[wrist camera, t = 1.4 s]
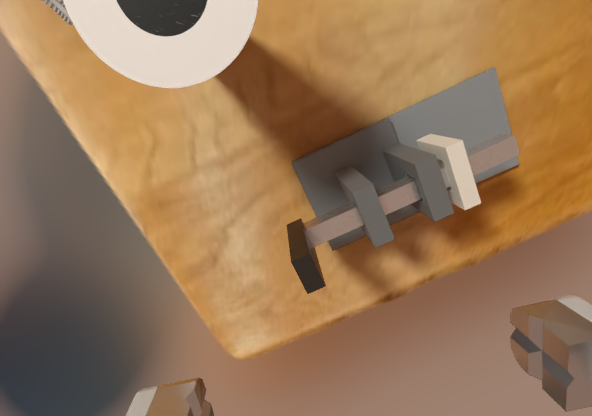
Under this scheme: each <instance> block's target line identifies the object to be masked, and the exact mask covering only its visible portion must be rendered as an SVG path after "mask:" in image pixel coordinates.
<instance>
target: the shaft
mask: <svg viewBox="0 0 592 416" xmlns="http://www.w3.org/2000/svg"><path fill="white" fill-rule="evenodd" d="M466 153H467V157H468V160H469V163H470V167H471V170H472V173H473V176H474V175H476V174H478V173H480V172H483V171H485V170H487V169H489V168H492V167H494V166H496V165H498V164H500V163H503V162H505V161H507V160H509V159H512V158H514V157H516V156H518V155H520V153H519V149H518V145H517V141H516V137H515V135H510V134H503V133H501V134H499V135H497V136H494V137H492V138H490V139H488V140H486V141H483V142H481V143H479V144H477V145H475V146H472V147H470V148H468V149H466ZM438 164H439V167H440V170H441V173H442V176H443V179H444V182H445V185H446V188H447V187H449V186H450V183H449V180H448V177H447V173H446V170H445V167H444V164H443V161H439V162H438ZM376 193H377V195H378V198H379V200H380V203H381V205H382V208H383V210H384V213H385V215H387V214H389V213H391V212H394V211H396V210H398V209H400V208H402V207H405V206H407V205H409V204H411V203H414V202H416V201H418V200H420V199H422V197H421V194H420V191H419V188H418V185H417V183H416V180H415V178H413V177H411V176H406V177H404V178H402V179H400V180H398V181H395V182H393V183H391V184H389V185H387V186H384V187H382V188H380V189H378V190H376ZM362 225H364V223H363V220H362V218H361V216H360V213H359V211H358V209H357V206H356V205H355V203H354V202H353V201H352V202H349V203H347V204H345V205H343V206H341V207H338V208H336V209H334V210H332V211H330V212H327V213H325V214H323V215H321V216H319V217H316V218H314V219H312V220H310V221H308V222H305V223H303V222H302V219H299V220H296V221H294V222H292V223H290V224H288V225H287V231H288V240H289V248H290V256H291V263H292V264H293V266H294V268H295V270H296V272H297V274H298V276H299V278H300V280H301V282H302V284H303V286H304V288H305V290H306V292H307V294H309V293H311V292H314V291H316V290H318V289H320V288H323V287H325V286H326V285H325V282H324V278H323V275H322V272H321V268H320V265H319V261H318V258H317V254H316V251H315V248H314V247H316V246H318V245H320V244H322V243H325V242H327V241H329V240H331V239H333V238H336V237H338V236H340V235H342V234H345V233H347V232H349V231H351V230H353V229H356V228H358V227H360V226H362Z"/></svg>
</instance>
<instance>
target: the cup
mask: <svg viewBox="0 0 592 416" xmlns="http://www.w3.org/2000/svg"><path fill="white" fill-rule="evenodd" d="M63 2H64V5H65V7H66V10H67V12H68V14H69V17H70V19H71V21H72V23H73V24H74V26H75V28H76V30H77V31H78V33H79V34H80V36H81V37H82V39H83V40H84V41H85V43H86V44H87V45H88V46H89V48H90V49H91V50H92V51H93V52H94V53H95V54H96V55H97V56H98V57H99V58H100V59H101V60H102V61H104V62H105V63H106V64H107V65H109V66H110V67H111V68H113V69H114V70H115V71H117V72H119V73H120V74H122V75H124V76H126V77H128V78H130V79H132V80H134V81H137V82H139V83H142V84H146V85H150V86H154V87H160V88H182V87H188V86H192V85H196V84H199V83H202V82H204V81H207V80H209V79H211V78H212V77H214V76H216V75H217V74H219V73H220V72H222V71H223V70H224V69H225V68H226V67H228V66H229V65H230V64H231V63H232V62H233V61H234V59H235V58H236V57H237V56H238V55H239V53H240V52H241V50H242V49H243V47H244V45H245V44H246V42H247V40H248V38H249V36H250V33H251V31H252V28H253V25H254V22H255V18H256V14H257V8H258V0H63Z"/></svg>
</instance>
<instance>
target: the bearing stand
mask: <svg viewBox="0 0 592 416" xmlns="http://www.w3.org/2000/svg"><path fill="white" fill-rule="evenodd" d="M292 165H293V167H294V169H295V171H296V173H297V175H298V178H299V180H300V182H301V184H302V186H303V188H304V190H305V193H306V195H307V197H308V199H309V201H310V203H311V205H312V208H313V210H314V212H315V214H316V216H317V217H319V216H321V215H323V214H325V213H327V212H330V211H332V210H334V209H336V208H338V207H341V206H343V205H345V204H347V203H349V202H352V201H353V202H354V203H355V205H356V206H357V209H358V211H359V213H360V216H361V218H362V220H363V223H364V225H362V226H360V227H358V228H356V229H353V230H351V231H349V232H347V233H345V234H342V235H340V236H338V237H336V238H333V239H331V240H329V241H328V242H329V244H330V246H331V248H332V251H333V250H335V249H338V248H340V247H342V246H344V245H347V244H349V243H351V242H353V241H356V240H358V239H360V238H362V237H364V236H367V237H368V238H369V240H370V241H371V242H372V244H373V245H374V247H375V248H377V247H379V246H381V245H383V244H386V243H388V242H390V241H392V240H395V238H394V235H393V233H392V230H391V228H390V225H391V224H394V223H396V222H398V221H400V220H403V219H405V218H407V217H409V216H412V215H414V214H416V213H418V212H422V213H423V214H424V215H426V216H427V217H429V218H430V219H431V220H433V221H434V222H435V221H438V220H440V219H442V218H444V217H447V216H449V215H451V214H453V213H454V210H453V207H452V204H451V201H450V198H449V194H448V191H447V188H446V185H445V182H444V179H443V176H442V173H441V170H440V167H439V164H438V161H437V158H436V155H435V154H432V153H428V152H425V151H422V150H419V149H416V148H413V147H409V146H406V145H403V144H400V143H398V141H397V138H396V135H395V132H394V129H393V127H392V124H391V121H390V118H385V119H383V120H381V121H378V122H376V123H374V124H372V125H370V126H368V127H366V128H364V129H361V130H359V131H357V132H355V133H353V134H351V135H349V136H346V137H344V138H342V139H340V140H338V141H336V142H334V143H332V144H329V145H327V146H325V147H323V148H321V149H319V150H317V151H314V152H312V153H310V154H308V155H306V156H304V157H302V158H300V159H297V160H295V161H293V162H292ZM406 176H411V177H413V178H415V180H416V183H417V185H418V188H419V191H420V194H421V197H422V199H420V200H418V201H416V202H414V203H411V204H409V205H407V206H405V207H402V208H400V209H398V210H396V211H394V212H391V213H389V214H387V215H385V213H384V210H383V208H382V205H381V203H380V200H379V198H378V195H377V193H376V190H378V189H380V188H382V187H384V186H387V185H389V184H391V183H393V182H395V181H398V180H400V179H402V178H404V177H406Z"/></svg>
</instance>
